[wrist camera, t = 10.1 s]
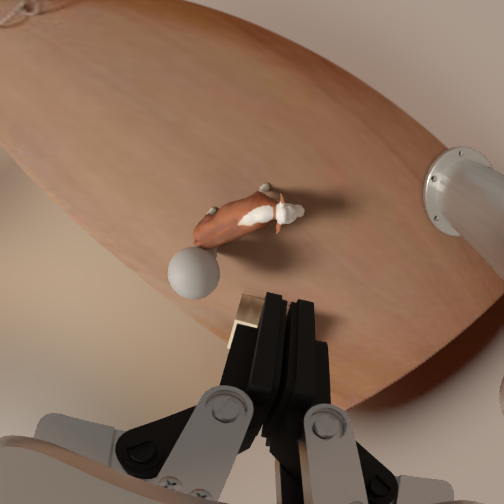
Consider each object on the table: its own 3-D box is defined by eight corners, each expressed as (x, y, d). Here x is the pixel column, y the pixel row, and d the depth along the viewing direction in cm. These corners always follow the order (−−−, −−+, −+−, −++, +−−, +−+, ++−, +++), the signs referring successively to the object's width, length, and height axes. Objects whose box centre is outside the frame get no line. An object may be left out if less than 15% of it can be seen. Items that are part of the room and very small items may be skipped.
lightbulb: (239, 256, 42) (221, 304, 32) (200, 266, 44) (175, 313, 34) (222, 217, 40) (198, 257, 30) (183, 230, 41) (150, 270, 32)
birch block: (299, 335, 40) (235, 319, 40) (285, 363, 42) (227, 348, 42) (299, 309, 45) (242, 293, 45) (287, 336, 48) (234, 322, 48)
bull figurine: (306, 203, 37) (308, 228, 30) (211, 234, 41) (193, 263, 34) (294, 171, 35) (294, 188, 28) (198, 206, 39) (176, 230, 32)
